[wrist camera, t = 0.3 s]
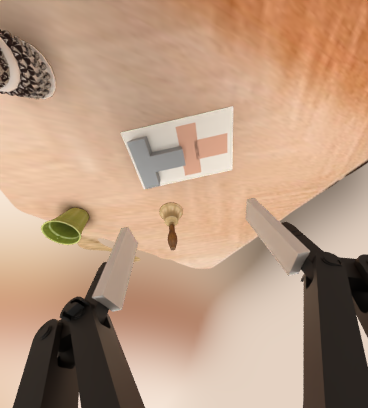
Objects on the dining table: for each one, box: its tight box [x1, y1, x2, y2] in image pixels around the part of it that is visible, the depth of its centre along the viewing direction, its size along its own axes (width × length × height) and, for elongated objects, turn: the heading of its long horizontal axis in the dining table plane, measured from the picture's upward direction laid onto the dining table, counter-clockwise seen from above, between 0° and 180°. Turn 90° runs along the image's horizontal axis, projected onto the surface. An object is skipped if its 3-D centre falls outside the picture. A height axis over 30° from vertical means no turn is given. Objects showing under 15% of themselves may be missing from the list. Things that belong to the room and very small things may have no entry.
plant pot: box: [41, 208, 89, 245], centre depth 41 cm, size 9×9×9 cm
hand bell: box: [159, 203, 183, 250], centre depth 41 cm, size 8×8×16 cm
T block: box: [127, 136, 186, 189], centre depth 34 cm, size 12×12×4 cm
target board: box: [120, 106, 233, 189], centre depth 36 cm, size 16×28×1 cm, turn 101°
